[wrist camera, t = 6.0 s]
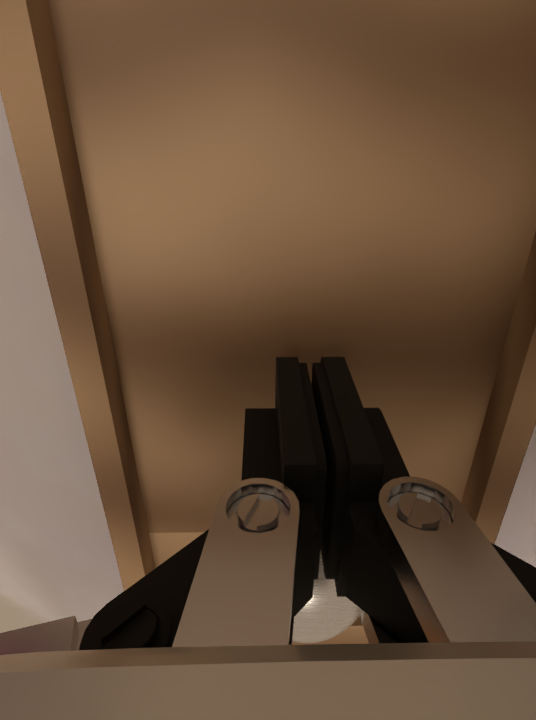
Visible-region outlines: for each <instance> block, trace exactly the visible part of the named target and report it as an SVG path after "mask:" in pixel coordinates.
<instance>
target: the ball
mask: <svg viewBox="0 0 536 720" xmlns="http://www.w3.org/2000/svg"><path fill="white" fill-rule="evenodd" d="M360 612H361V609H360V608H359V607H358V606H357V605H355V604H354V603H353V602H352V601H350V600H349V599H348V598H347V597H337V593H336V587H335V581H334V579H325V575H324V569H323V562H322V555H321V551H320V563H319V575H318V579H317V580H314V585H313V597H312V598H311V600H310V601H309V602H308V603H307V604H306V605H305V606H304V607H303V608H302V609H301V610H300V611H299V612H298V613H297V615H296V616H295V617H294V631H293V642H296V643H317V642H322V641H326V640H328V639H331V638H333V637H336V636H337V635H339V634H341V633H342V632H344V631H345V630H346V629H348V628H349V627H350V626H351V625H352V624H353V623H354V622H355V621H356V620H357V618H358V617H359V616H360Z"/></svg>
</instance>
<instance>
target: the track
mask: <svg viewBox="0 0 536 720" xmlns="http://www.w3.org/2000/svg"><path fill="white" fill-rule="evenodd" d="M0 91H1V95H2V99H3V103H4V107H5V111H6V115H7V119H8V123H9V127H10V131H11V135H12V139H13V143H14V147H15V151H16V155H17V159H18V163H19V168H20V172H21V176H22V180H23V184H24V188H25V192H26V196H27V200H28V204H29V208H30V212H31V216H32V220H33V224H34V228H35V232H36V236H37V240H38V244H39V248H40V252H41V256H42V260H43V265H44V269H45V273H46V277H47V281H48V285H49V289H50V293H51V297H52V301H53V305H54V309H55V313H56V317H57V321H58V325H59V329H60V333H61V337H62V341H63V345H64V349H65V353H66V358H67V362H68V366H69V370H70V374H71V378H72V382H73V386H74V390H75V394H76V398H77V402H78V406H79V410H80V414H81V418H82V422H83V426H84V430H85V434H86V438H87V442H88V446H89V451H90V455H91V459H92V463H93V467H94V471H95V475H96V479H97V483H98V487H99V491H100V495H101V499H102V503H103V507H104V511H105V515H106V519H107V523H108V527H109V531H110V535H111V539H112V544H113V548H114V552H115V556H116V560H117V564H118V568H119V572H120V576H121V580H122V584H123V588H124V591H125V590H127V589H128V588H129V587H131V586H132V585H133V584H135V583H136V582H137V581H139V580H140V579H142V578H143V577H144V576H146V575H147V574H148V573H150V572H151V571H152V570H154V569H155V568H156V567H158V566H159V565H161V564H162V563H163V562H165V561H166V560H167V559H169V558H170V557H171V556H173V555H174V554H176V553H177V552H178V551H180V550H181V549H182V548H184V547H185V546H186V545H188V544H189V543H190V542H192V541H193V540H195V539H196V538H197V537H199V536H200V535H201V534H203V533H204V532H205V531H207V530H208V529H209V528H210V525H211V522H212V519H213V516H214V512H215V509H216V506H217V503H218V501H219V499H220V497H221V495H222V493H223V492H225V491H226V490H227V489H228V488H229V487H230V486H231V485H233V484H235V483H237V482H239V481H241V479H242V460H243V442H244V423H245V409H246V408H275V379H276V357H298V360H299V363H307V367H308V371H309V376H310V381H311V380H312V365H313V363H320V360H321V357H344V358H345V360H346V363H347V365H348V368H349V371H350V373H351V376H352V379H353V381H354V384H355V386H356V389H357V392H358V394H359V397H360V400H361V402H362V405H363V408H380V410H381V411H382V413H383V416H384V418H385V420H386V422H387V425H388V427H389V429H390V432H391V434H392V436H393V438H394V441H395V443H396V445H397V448H398V450H399V452H400V454H401V457H402V459H403V461H404V463H405V466H406V468H407V470H408V473H409V475H410V477H419V478H424V479H428V480H430V481H433V482H435V483H438V484H440V485H441V486H443V487H444V488H446V489H447V490H449V491H450V492H451V493H452V494H453V495H454V496H455V497H456V498H457V499H458V500H459V501H460V502H461V504H462V505H463V506H464V508H465V509H466V511H467V512H468V513H469V515H470V516H471V517H472V519H473V520H474V521H475V523H476V524H477V525H478V527H479V528H480V529H481V531H482V532H483V533H484V535H485V536H486V537H487V539H488V540H489V541H490V542H491V543H492V544H495V541H496V538H497V535H498V532H499V529H500V526H501V523H502V520H503V517H504V514H505V512H506V509H507V506H508V503H509V500H510V497H511V494H512V491H513V488H514V485H515V482H516V479H517V476H518V474H519V471H520V468H521V465H522V462H523V459H524V456H525V453H526V450H527V447H528V444H529V441H530V438H531V436H532V433H533V430H534V427H535V424H536V0H0ZM312 644H369V642H368V639H367V636H366V634H365V631H364V628H363V625H362V621H361V616H359V617H358V618H357V620H356V621H355V622H354V623H353V624H352V625H351V626H350V627H349V628H348V629H346V630H345V631H344V632H342V633H341V634H339V635H337V636H336V637H333V638H331V639H328V640H326V641H322V642H317V643H296V642H293V643H292V645H312Z"/></svg>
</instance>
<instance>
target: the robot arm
mask: <svg viewBox="0 0 536 720" xmlns="http://www.w3.org/2000/svg"><path fill="white" fill-rule="evenodd" d="M320 551H321V555H322V562H323V569H324V575H325V579H334V581H335V587H336V593H337V597H347V598H348V599H349V600H350V601H352V602H353V603H354V604H355V605H357V606H358V607H359V608H360V609H361V612H360V616H361V621H362V625H363V628H364V631H365V634H366V636H367V639H368V642H369V644H312V645H292V643H293V631H294V617H295V616H296V615H297V613H298V612H299V611H300V610H301V609H302V608H303V607H304V606H305V605H306V604H307V603H308V602H309V601H310V600H311V598H312V597H313V585H314V580H317V579H318V575H319V563H320ZM0 720H536V568H535V567H533V566H532V565H530V564H528V563H526V562H525V561H523V560H521V559H519V558H517V557H516V556H514V555H512V554H510V553H508V552H507V551H505V550H503V549H501V548H500V547H498V546H496V545H494V544H492V543H491V542H490V541H489V540H488V539H487V537H486V536H485V535H484V533H483V532H482V531H481V529H480V528H479V527H478V525H477V524H476V523H475V521H474V520H473V519H472V517H471V516H470V515H469V513H468V512H467V511H466V509H465V508H464V506H463V505H462V504H461V502H460V501H459V500H458V499H457V498H456V497H455V496H454V495H453V494H452V493H451V492H450V491H449V490H447V489H446V488H444V487H443V486H441V485H440V484H438V483H435V482H433V481H430V480H428V479H424V478H419V477H410V475H409V473H408V470H407V468H406V466H405V463H404V461H403V459H402V457H401V454H400V452H399V450H398V448H397V445H396V443H395V441H394V438H393V436H392V434H391V432H390V429H389V427H388V425H387V422H386V420H385V418H384V416H383V413H382V411H381V410H380V408H363V405H362V402H361V400H360V397H359V394H358V392H357V389H356V386H355V384H354V381H353V379H352V376H351V373H350V371H349V368H348V365H347V363H346V360H345V358H344V357H321V360H320V363H313V365H312V380H311V381H310V376H309V371H308V367H307V363H299V360H298V357H276V379H275V408H246V409H245V423H244V442H243V460H242V479H241V481H239V482H237V483H235V484H233V485H231V486H230V487H229V488H228V489H227V490H226V491H225V492H223V493H222V495H221V497H220V499H219V501H218V503H217V506H216V509H215V512H214V516H213V519H212V522H211V525H210V528H209V529H208V530H207V531H205V532H204V533H203V534H201V535H200V536H199V537H197V538H196V539H195V540H193V541H192V542H190V543H189V544H188V545H186V546H185V547H184V548H182V549H181V550H180V551H178V552H177V553H176V554H174V555H173V556H171V557H170V558H169V559H167V560H166V561H165V562H163V563H162V564H161V565H159V566H158V567H156V568H155V569H154V570H152V571H151V572H150V573H148V574H147V575H146V576H144V577H143V578H142V579H140V580H139V581H137V582H136V583H135V584H133V585H132V586H131V587H129V588H128V589H127V590H125V591H124V592H122V593H121V594H120V595H118V596H117V597H116V598H114V599H113V600H112V601H110V602H109V603H108V604H106V605H105V606H104V607H103V608H102V609H101V610H100V611H99V612H98V613H97V614H96V615H95V616H94V617H93V619H89V620H85V621H81V622H77V620H76V617H75V616H72V617H68V618H63V619H59V620H55V621H51V622H46V623H42V624H38V625H34V626H29V627H25V628H21V629H16V630H12V631H8V632H4V633H0Z"/></svg>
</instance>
